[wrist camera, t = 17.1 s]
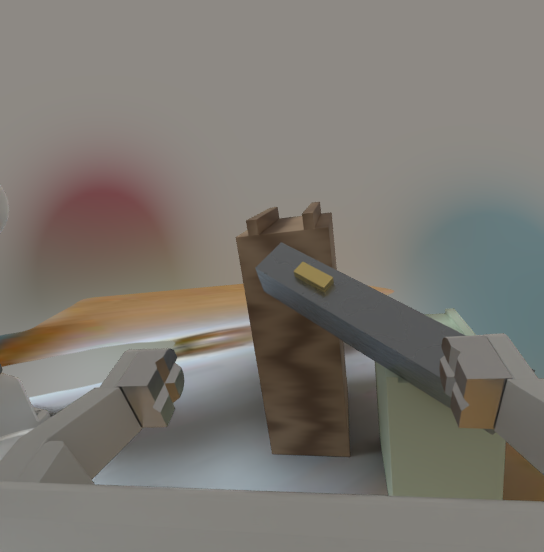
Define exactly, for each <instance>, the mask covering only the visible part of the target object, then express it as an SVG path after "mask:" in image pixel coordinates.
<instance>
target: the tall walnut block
mask: <svg viewBox="0 0 544 552" xmlns="http://www.w3.org/2000/svg"><path fill="white" fill-rule="evenodd" d="M246 223H247V229H248V230H247V231H245V232H244V233H242V234H240V235H239V236H237V237H236V242H237V247H238V253H239V259H240V265H241V271H242V277H243V283H244V289H245V295H246V301H247V307H248V313H249V319H250V325H251V331H252V337H253V343H254V349H255V355H256V361H257V367H258V372H259V378H260V384H261V390H262V396H263V402H264V408H265V414H266V420H267V426H268V432H269V438H270V444H271V450H272V454H283V455H312V456H342V457H350V439H349V412H348V389H347V378H346V367H345V356H344V345H343V341H342V340H341V339H339V338H337V337H336V336H334V335H333V334H331V333H329V332H328V331H326V330H325V329H323V328H322V327H320V326H318V325H317V324H315V323H314V322H312V321H310V320H309V319H307V318H306V317H304V316H302V315H301V314H299V313H298V312H296V311H295V310H293V309H291V308H290V307H288V306H287V305H285V304H283V303H282V302H280V301H279V300H277V299H275V298H274V297H272V296H271V295H269V294H268V293H266V292H264V290H263V287H262V285H261V282H260V280H259V277H258V274H257V272H256V269H255V268H256V267H257V266H258V265H259V264H260V263H261V262H262V261H263V260H264V259H265V258H266V257H267V256H268V255H269V254H270V253H271V252H272V251H273V250H274V249H275V248H276V247H277V246H278V245H279V244H280V243H281V242H282V243H284V244H286V245H288V246H290V247H292V248H294V249H296V250H298V251H300V252H302V253H304V254H306V255H308V256H310V257H312V258H314V259H315V260H317V261H319V262H321V263H323V264H325V265H327V266H329V267H331V268H333V269H335V270H337V268H336V257H335V246H334V235H333V224H332V213H323V214H321V209H320V202H314V203H311V204H310V205H309V206H308V208H307V209H306V210H305V211H304V212H303V213H302V216H298V217H289V218H281V219H279V214H278V208H277V207H274V208H269V209H267V210H265V211H263V212H261V213H260V214H258V215H256V216H254V217H252V218H250V219H248V220H247V221H246Z"/></svg>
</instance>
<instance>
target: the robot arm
mask: <svg viewBox="0 0 544 552" xmlns="http://www.w3.org/2000/svg"><path fill="white" fill-rule="evenodd" d="M8 216H9V204H8V198H7V196H6V193H5V191H4V189H3V187H2V186H1V184H0V233H1V232H2V230H3V229H4V227H5V225H6V223H7V220H8ZM441 348H442V351H443V353H444V356H443V357H442V358H441V359H440V366H439V370H440V379H441V383H442V386H443V389H444V392H445V394H447V395H448V396H449V397H451V405H450V407H451V410H452V412H453V415H454V417H455V420H456V422H457V425H458V427H459V428H476V429H495V430H494V431H495V432H496V433H497V434H499V435H500V436H501V437H502V438H503V439H504V440H505V441H506V442H507V443H509V444H510V445H511V446H512V447H513V448H514V449H515V450H516V451H517V452H519V453H520V454H521V455H522V456H523V457H524V458H525V459H526V460H527V461H529V462H530V463H531V464H532V465H533V466H534V467H535V468H536V469H537V470H539V471H540V472H541V473H542V474H543V475H544V379H538V377H537V376H536V375H535V373H534V372H533V370H532V369H531V368H530V366H529V365H528V364H527V362H526V361H525V359H524V358H523V357H522V355H521V354H520V352H519V351H518V350H517V348H516V347H515V346H514V344H513V343H512V341H511V340H510V339H509V337H508V336H507V335H505V334H504V333H503V334H486V335H472V336H452V337H444V338H443V340H442V346H441ZM176 359H177V356H176V354H175V352H174V350H173V349H129V350H127V351H125V352H124V353H123V355H122V356H121V358H120V359H119V360H118V362H117V363H116V365H115V366H114V368H113V369H112V370H111V372H110V373H109V375H108V376H107V378H106V379H105V380H104V382H103V383H102V385H101V386H100V387H99V388H94V389H92V390H91V391H89V392H88V393H86V394H85V395H83V396H82V397H80V398H79V399H77V400H76V401H74V402H73V403H71V404H70V405H68V406H67V407H65V408H64V409H62V410H61V411H59V412H58V413H56V414H55V415H53V416H52V417H50V414H49V412H48V411H47V410H43V409H39V408H35V407H33V406H32V404H31V402H30V400H29V397H28V395H27V393H26V391H25V389H24V386H23V384H22V382H21V380H20V379H19V378H18V377H14V376H11V375H6V374H4V373H2V367H1V364H0V437H2V436H5V435H8V434H11V433H14V432H18V431H22V430H27V429H32V428H34V429H32V430H31V431H29V432H28V433H26V434H25V435H23V436H22V437H21V438H19V439H18V440H17V441H16V442H15V444H14V445H13V446H12V447H11V448H10V450H9V451H8V452H7V453H6V455H5V456H4V457H3V458H2V459H1V461H0V552H544V501H518V500H491V499H465V498H438V497H411V496H384V495H356V494H329V493H302V492H276V491H249V490H223V489H197V488H171V487H144V486H118V485H95V484H94V482H93V481H92V479H93V478H94V477H95V476H96V475H97V474H98V473H99V472H100V471H101V470H102V469H103V468H104V467H105V466H106V465H107V464H108V463H109V462H110V461H111V460H112V459H113V458H114V457H115V456H116V455H117V454H118V453H119V452H120V451H121V450H122V449H123V448H124V447H125V446H126V445H127V444H128V443H129V442H130V441H131V440H132V439H133V438H134V437H135V436H136V435H137V434H138V433H139V432H140V431H141V430H142V428H153V427H167V426H168V424H169V422H170V419H171V417H172V415H173V412H174V410H175V407H174V404H173V403H174V402H175V401H176V400H177V399H178V398H179V397H180V396H181V394H182V391H183V387H184V374H183V371H182V368H181V367H180V366H178V365H177V364H176V363H175V361H176Z"/></svg>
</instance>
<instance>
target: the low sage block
mask: <svg viewBox="0 0 544 552" xmlns="http://www.w3.org/2000/svg"><path fill="white" fill-rule="evenodd" d="M426 316H428V317H430V318H432V319H434V320H436V321H438V322H440V323H442V324H444V325H446V326H448V327H450V328H452V329H454V330H456V331H458V332H460V333H462V334H464V335H466V336H472V335H475V333H474V332H473V331H472V330H471V328H470V327H469V326H468V325H467V324H466V323H465V321H464V320H463V319H462V318H461V316H459V314H458V313H457V312H456V310H455V309H445V314H426ZM375 372H376V387H377V403H378V418H379V434H380V443H381V449H382V456H383V463H384V469H385V476H386V483H387V489H388V496H411V497H438V498H465V499H491V500H503V484H504V465H505V447H506V441H505V440H504V439H503V438H502V437H501V436H500V435H499V434H497V433H494V434H493V435H492V434H490V433H488V432H487V431H485V430H484V429H476V428H459V427H458V425H457V422H456V420H455V417H454V415H453V412H452V410H451V409H450V408H449V407H447V406H445V405H444V404H442V403H441V402H439V401H438V400H436V399H434V398H433V397H431V396H430V395H428V394H426V393H425V392H423V391H422V390H420V389H418V388H417V387H415V386H414V385H412V384H411V383H409V382H407V381H406V380H404V379H403V378H401V377H399V376H398V375H396V374H395V373H393V372H391V371H390V370H388V369H387V368H385V367H383V366H382V365H380V364H379V363H377V362H376V361H375Z"/></svg>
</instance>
